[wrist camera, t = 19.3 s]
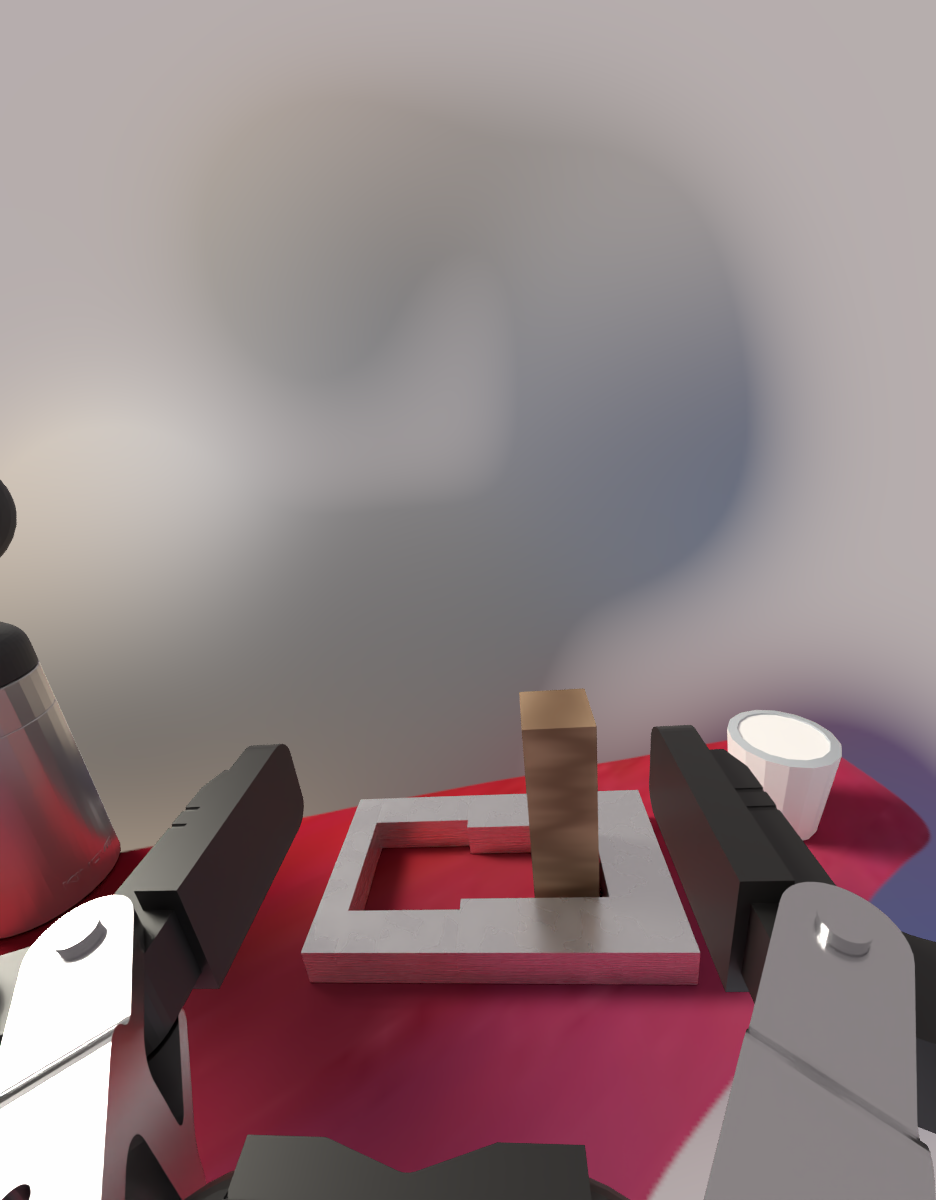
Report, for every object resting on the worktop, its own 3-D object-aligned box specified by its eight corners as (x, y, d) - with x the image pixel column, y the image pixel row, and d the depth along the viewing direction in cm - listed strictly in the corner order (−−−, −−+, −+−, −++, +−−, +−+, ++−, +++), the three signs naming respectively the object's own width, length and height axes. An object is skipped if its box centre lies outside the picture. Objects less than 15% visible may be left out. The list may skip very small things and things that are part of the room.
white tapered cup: (705, 783, 39) (710, 711, 37) (790, 778, 39) (801, 705, 36) (749, 852, 33) (758, 769, 30) (852, 847, 32) (869, 763, 30)
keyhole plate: (310, 982, 28) (300, 952, 27) (366, 823, 39) (360, 799, 38) (697, 984, 25) (700, 952, 25) (637, 815, 37) (637, 790, 36)
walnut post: (536, 915, 30) (521, 729, 25) (532, 862, 34) (519, 692, 29) (599, 915, 30) (596, 726, 25) (588, 861, 33) (584, 688, 29)
